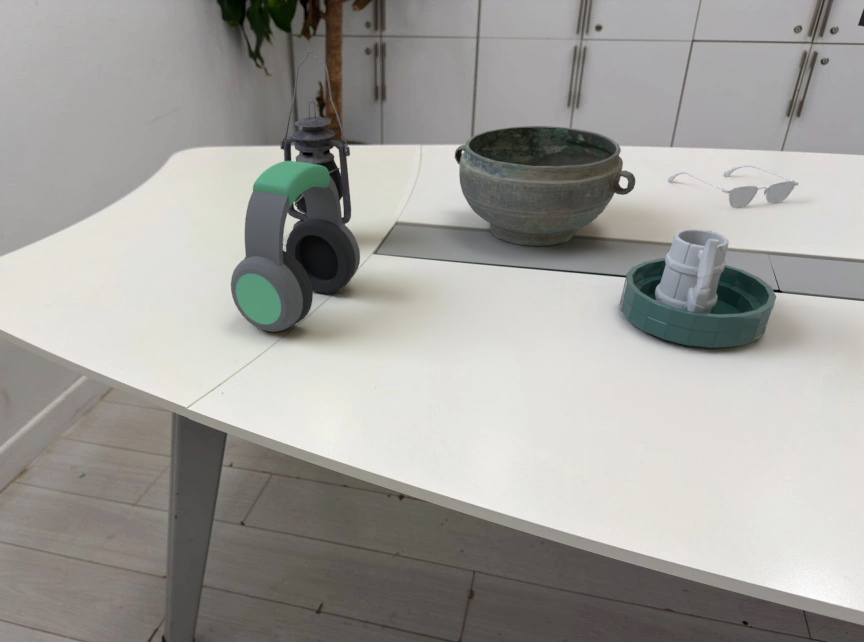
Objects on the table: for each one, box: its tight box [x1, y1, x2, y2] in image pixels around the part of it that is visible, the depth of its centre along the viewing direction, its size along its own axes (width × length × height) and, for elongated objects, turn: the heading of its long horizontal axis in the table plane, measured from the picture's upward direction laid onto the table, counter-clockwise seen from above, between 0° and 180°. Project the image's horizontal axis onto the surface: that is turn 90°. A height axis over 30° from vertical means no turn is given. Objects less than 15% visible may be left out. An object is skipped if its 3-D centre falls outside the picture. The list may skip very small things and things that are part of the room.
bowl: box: [454, 125, 636, 247], centre depth 114 cm, size 32×26×15 cm
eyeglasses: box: [667, 164, 799, 208], centre depth 131 cm, size 15×18×4 cm
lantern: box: [279, 49, 352, 229], centre depth 108 cm, size 12×11×30 cm
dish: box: [619, 257, 777, 349], centre depth 88 cm, size 18×18×5 cm
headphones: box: [230, 160, 361, 333], centre depth 90 cm, size 19×11×20 cm, turn 151°
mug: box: [655, 228, 730, 314], centre depth 86 cm, size 8×12×12 cm, turn 165°
